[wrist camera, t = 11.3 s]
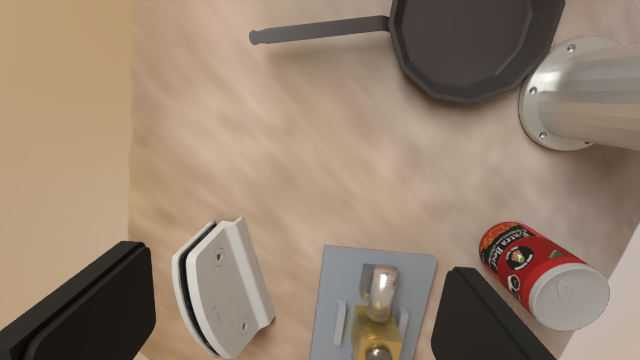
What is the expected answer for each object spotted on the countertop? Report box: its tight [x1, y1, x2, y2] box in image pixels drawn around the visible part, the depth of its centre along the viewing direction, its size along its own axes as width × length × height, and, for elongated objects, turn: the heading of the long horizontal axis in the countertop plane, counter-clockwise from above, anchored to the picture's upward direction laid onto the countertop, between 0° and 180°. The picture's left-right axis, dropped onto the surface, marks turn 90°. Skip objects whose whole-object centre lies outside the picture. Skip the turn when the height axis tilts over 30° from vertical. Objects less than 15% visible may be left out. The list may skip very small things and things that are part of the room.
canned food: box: [479, 222, 610, 332], centre depth 35 cm, size 8×8×11 cm
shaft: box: [359, 263, 399, 322], centre depth 38 cm, size 6×4×6 cm
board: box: [309, 245, 437, 360], centre depth 42 cm, size 21×15×3 cm
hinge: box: [172, 217, 275, 359], centre depth 38 cm, size 17×5×10 cm, turn 13°
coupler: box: [350, 304, 403, 360], centre depth 39 cm, size 5×5×7 cm
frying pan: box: [249, 0, 565, 104], centre depth 31 cm, size 18×32×4 cm, turn 96°
